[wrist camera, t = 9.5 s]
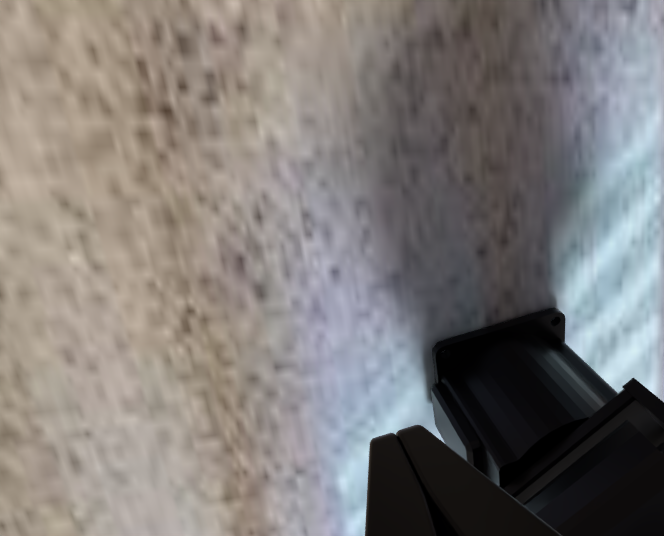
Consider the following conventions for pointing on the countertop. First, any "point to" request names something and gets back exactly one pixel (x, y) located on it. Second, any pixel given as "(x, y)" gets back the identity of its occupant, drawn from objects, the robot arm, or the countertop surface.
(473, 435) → the robot arm
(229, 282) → the countertop surface
